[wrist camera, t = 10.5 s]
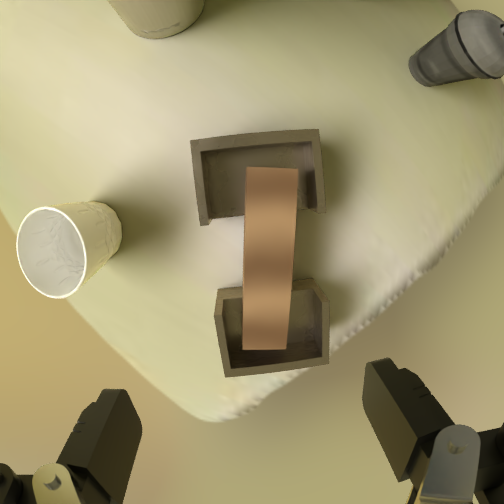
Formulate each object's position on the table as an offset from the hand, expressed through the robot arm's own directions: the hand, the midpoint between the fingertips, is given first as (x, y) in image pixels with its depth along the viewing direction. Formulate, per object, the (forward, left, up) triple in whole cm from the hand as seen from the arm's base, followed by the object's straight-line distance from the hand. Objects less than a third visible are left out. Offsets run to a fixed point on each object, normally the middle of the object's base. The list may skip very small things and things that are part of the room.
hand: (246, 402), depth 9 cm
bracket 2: (+8, +2, -24) cm, 25 cm away
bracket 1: (-7, +2, -24) cm, 25 cm away
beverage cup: (-19, +24, -24) cm, 39 cm away
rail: (+1, +2, -21) cm, 21 cm away
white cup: (-3, -16, -24) cm, 29 cm away
